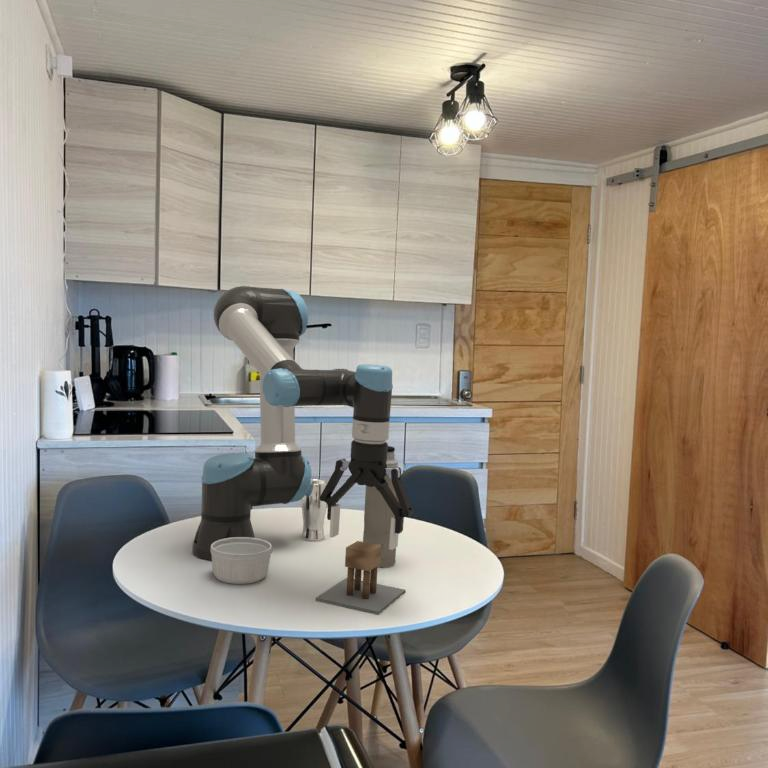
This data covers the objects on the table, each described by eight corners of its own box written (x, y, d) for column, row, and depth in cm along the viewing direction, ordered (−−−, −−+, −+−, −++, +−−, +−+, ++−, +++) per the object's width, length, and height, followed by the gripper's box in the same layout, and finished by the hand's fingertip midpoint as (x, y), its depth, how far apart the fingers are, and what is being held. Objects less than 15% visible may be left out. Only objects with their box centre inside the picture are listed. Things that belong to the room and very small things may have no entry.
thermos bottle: (397, 559, 174) (404, 445, 172) (391, 569, 166) (398, 450, 164) (366, 555, 176) (372, 442, 174) (358, 565, 168) (364, 447, 166)
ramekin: (238, 562, 166) (239, 532, 165) (283, 574, 159) (284, 544, 159) (196, 577, 154) (197, 546, 154) (242, 591, 148) (244, 558, 147)
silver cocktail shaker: (331, 537, 189) (334, 481, 188) (315, 543, 184) (317, 485, 182) (310, 532, 193) (313, 477, 192) (294, 538, 187) (296, 481, 186)
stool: (343, 595, 147) (345, 547, 146) (355, 587, 152) (357, 540, 151) (367, 600, 145) (370, 552, 144) (378, 592, 150) (381, 545, 149)
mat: (315, 600, 145) (315, 597, 145) (346, 580, 158) (346, 577, 158) (378, 614, 139) (378, 611, 139) (405, 592, 152) (405, 589, 152)
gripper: (307, 435, 148) (301, 535, 150) (420, 451, 138) (412, 558, 140) (324, 430, 154) (319, 526, 156) (433, 446, 145) (425, 548, 147)
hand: (363, 541), depth 148 cm, fingers open, 13 cm apart
